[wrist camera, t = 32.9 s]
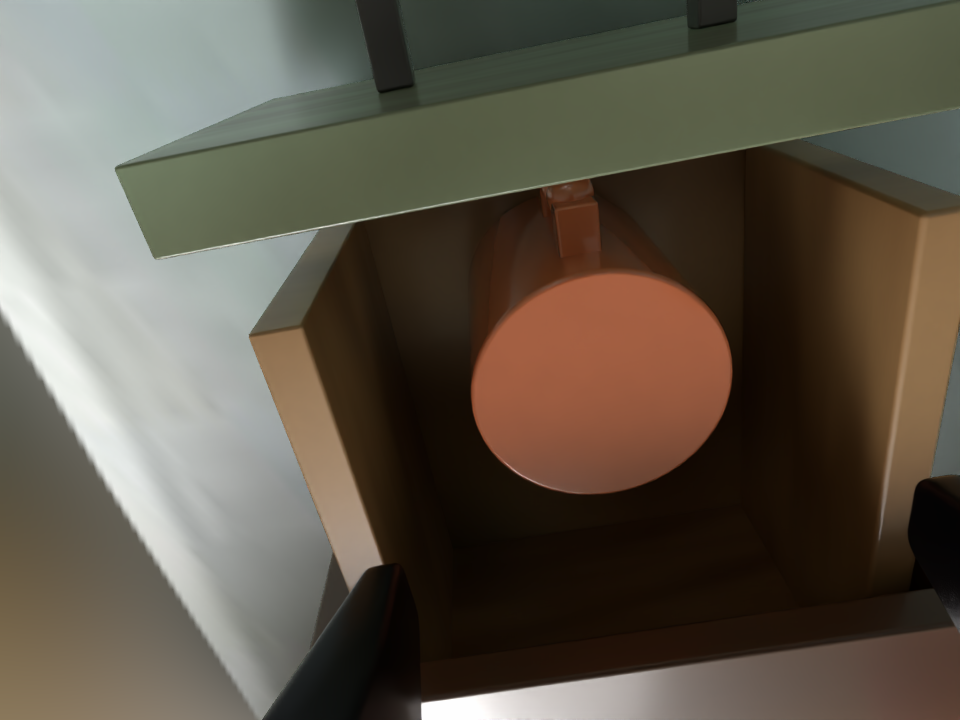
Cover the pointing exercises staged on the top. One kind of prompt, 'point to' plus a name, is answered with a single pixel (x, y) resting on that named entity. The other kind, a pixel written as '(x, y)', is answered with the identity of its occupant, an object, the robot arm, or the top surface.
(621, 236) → the orange cylinder
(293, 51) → the top surface
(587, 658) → the cabinet
